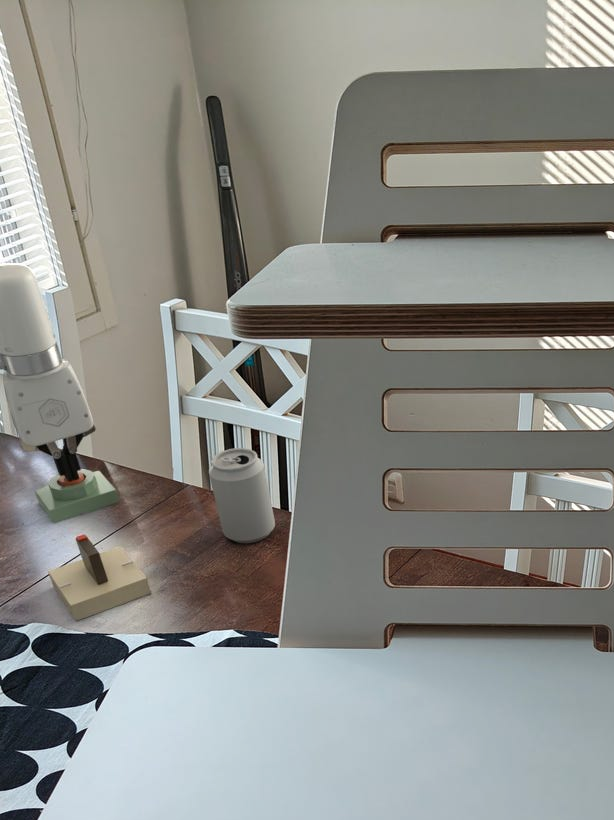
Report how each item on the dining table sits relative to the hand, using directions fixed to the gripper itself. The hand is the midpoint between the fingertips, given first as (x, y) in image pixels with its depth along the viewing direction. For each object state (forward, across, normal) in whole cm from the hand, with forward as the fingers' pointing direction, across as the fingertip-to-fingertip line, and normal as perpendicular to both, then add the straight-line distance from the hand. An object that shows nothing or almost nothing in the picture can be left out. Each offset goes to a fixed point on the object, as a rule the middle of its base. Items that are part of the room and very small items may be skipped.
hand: (71, 476), depth 147 cm
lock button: (+2, 0, 0) cm, 2 cm away
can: (+5, +17, -25) cm, 31 cm away
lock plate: (+4, -5, -26) cm, 27 cm away
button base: (+4, 0, 0) cm, 4 cm away
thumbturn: (+2, -5, -26) cm, 26 cm away
